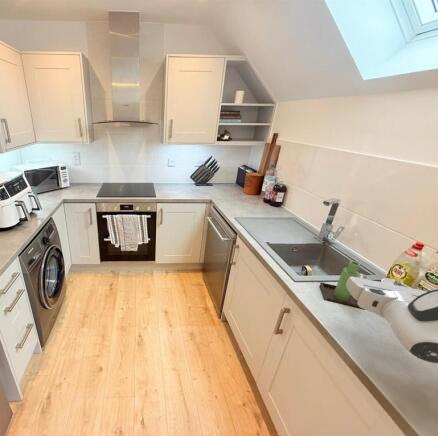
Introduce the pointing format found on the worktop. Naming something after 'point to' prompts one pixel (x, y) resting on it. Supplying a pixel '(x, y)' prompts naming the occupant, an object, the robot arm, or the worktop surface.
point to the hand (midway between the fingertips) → (378, 278)
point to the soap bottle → (341, 289)
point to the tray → (328, 296)
